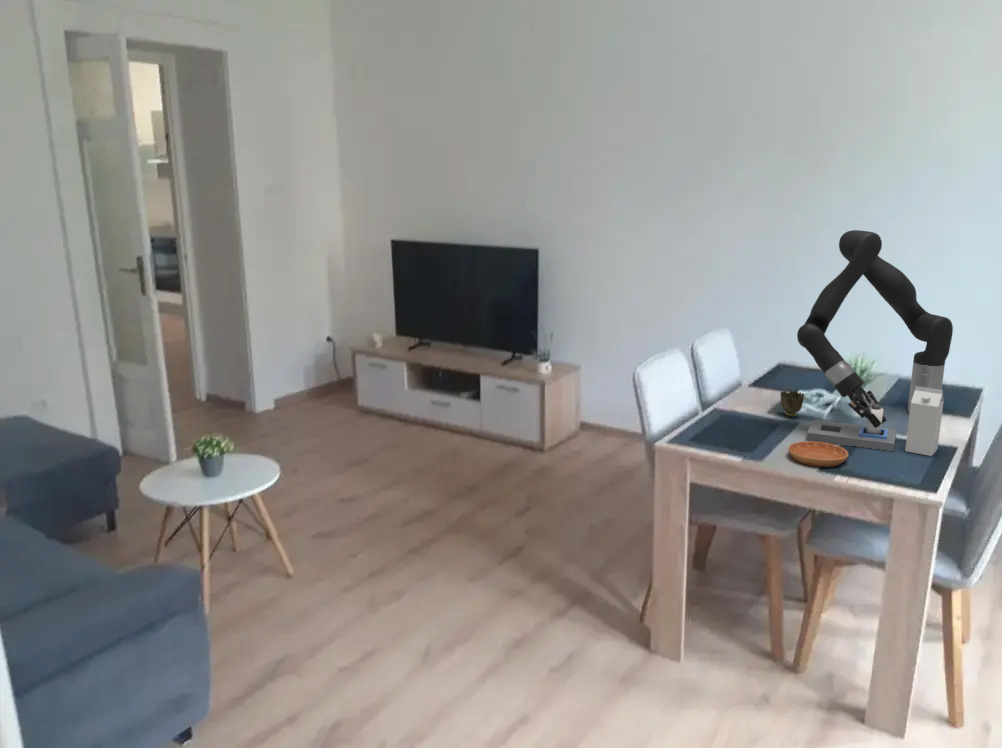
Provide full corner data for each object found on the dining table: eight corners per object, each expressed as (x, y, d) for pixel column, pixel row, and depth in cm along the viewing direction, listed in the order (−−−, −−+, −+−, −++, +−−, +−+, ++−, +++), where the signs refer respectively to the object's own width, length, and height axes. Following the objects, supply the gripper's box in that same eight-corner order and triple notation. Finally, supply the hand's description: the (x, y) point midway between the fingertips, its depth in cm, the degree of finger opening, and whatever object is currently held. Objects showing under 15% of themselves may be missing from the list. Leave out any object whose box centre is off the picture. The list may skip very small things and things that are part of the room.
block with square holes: (812, 427, 253) (813, 417, 253) (895, 437, 242) (896, 427, 242) (806, 440, 241) (807, 430, 241) (893, 451, 230) (894, 441, 230)
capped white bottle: (865, 434, 241) (869, 402, 239) (880, 435, 240) (884, 404, 237) (865, 438, 238) (868, 406, 235) (879, 439, 236) (883, 408, 234)
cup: (783, 419, 261) (785, 396, 259) (775, 413, 268) (777, 390, 266) (806, 419, 261) (808, 396, 259) (797, 412, 268) (799, 389, 266)
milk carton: (910, 445, 236) (918, 383, 231) (937, 449, 231) (945, 387, 227) (904, 451, 231) (912, 389, 226) (931, 456, 226) (940, 393, 221)
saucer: (781, 449, 235) (782, 440, 234) (837, 450, 233) (838, 441, 233) (795, 469, 220) (796, 459, 219) (855, 470, 218) (856, 460, 217)
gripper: (844, 375, 234) (883, 423, 229) (862, 366, 244) (899, 412, 239) (825, 390, 239) (862, 436, 234) (842, 380, 249) (879, 425, 244)
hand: (881, 423), depth 236 cm, fingers closed on capped white bottle, 4 cm apart
